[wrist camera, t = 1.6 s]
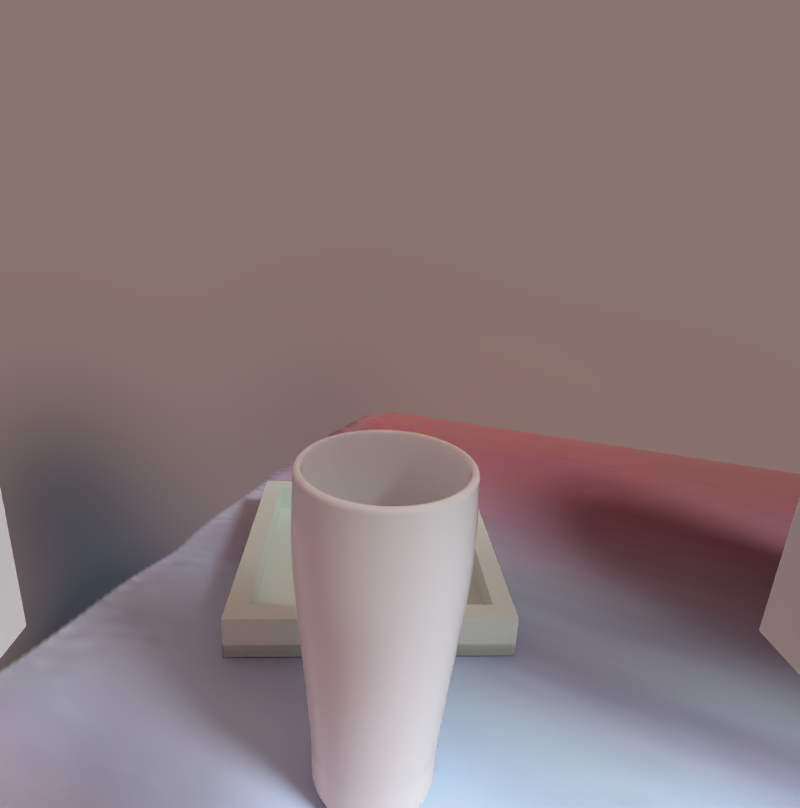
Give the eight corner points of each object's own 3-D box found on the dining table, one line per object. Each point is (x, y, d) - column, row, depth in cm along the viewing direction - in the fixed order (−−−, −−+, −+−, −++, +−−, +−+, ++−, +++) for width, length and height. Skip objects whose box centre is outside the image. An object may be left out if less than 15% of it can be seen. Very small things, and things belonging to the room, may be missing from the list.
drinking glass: (284, 857, 22) (275, 509, 17) (303, 710, 29) (300, 425, 24) (461, 854, 23) (501, 513, 18) (441, 710, 29) (466, 429, 24)
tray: (466, 511, 48) (469, 484, 47) (514, 655, 33) (519, 618, 32) (268, 509, 47) (267, 480, 46) (223, 657, 32) (220, 619, 31)
